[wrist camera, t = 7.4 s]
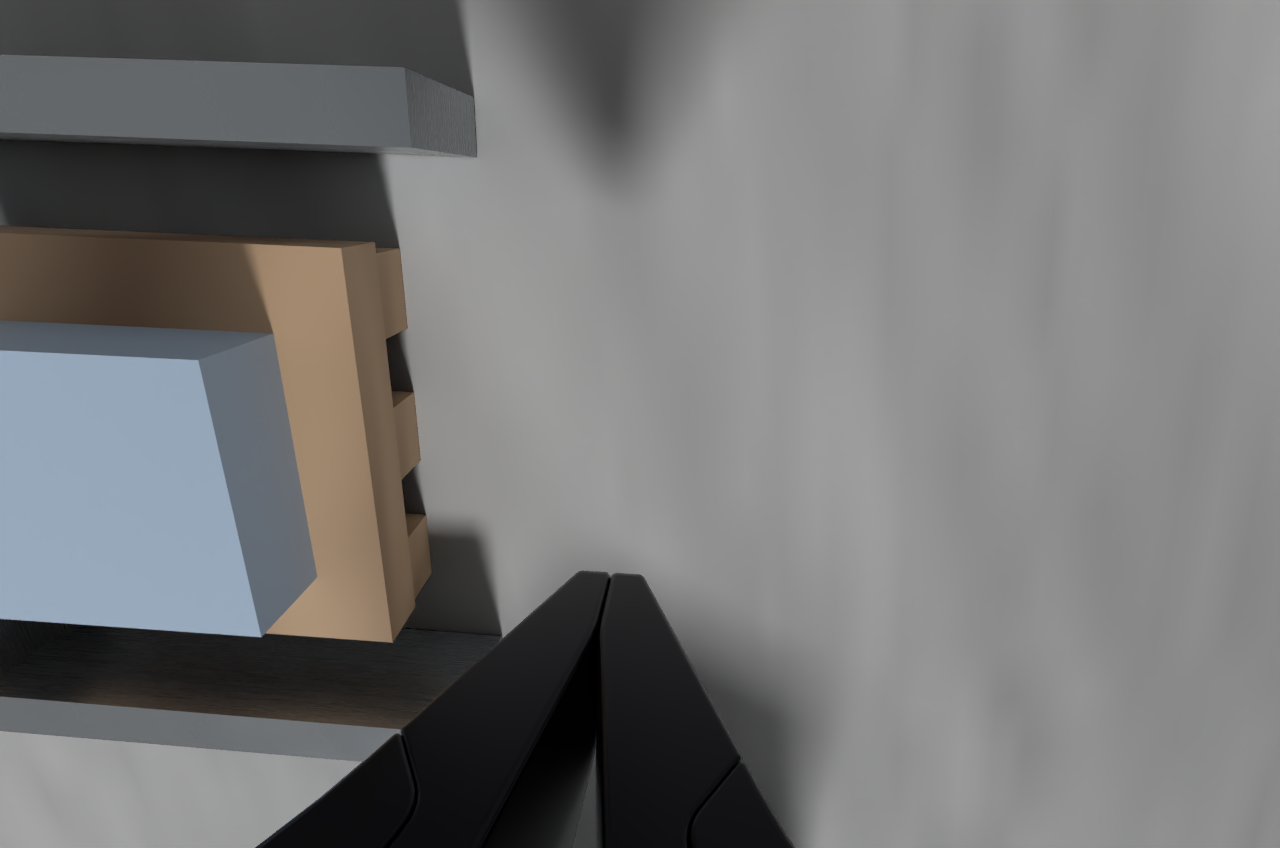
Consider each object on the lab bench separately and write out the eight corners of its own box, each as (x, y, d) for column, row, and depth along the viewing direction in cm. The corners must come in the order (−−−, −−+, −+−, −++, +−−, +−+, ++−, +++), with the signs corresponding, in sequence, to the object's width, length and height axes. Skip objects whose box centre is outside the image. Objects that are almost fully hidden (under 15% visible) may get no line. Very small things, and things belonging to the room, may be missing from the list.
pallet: (402, 237, 12) (341, 247, 10) (435, 576, 15) (392, 642, 13) (21, 220, 13) (-120, 227, 11) (122, 554, 16) (29, 615, 13)
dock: (473, 97, 11) (404, 66, 8) (503, 667, 16) (465, 770, 13) (-125, 76, 12) (-376, 43, 9) (73, 634, 16) (-52, 726, 14)
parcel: (273, 333, 11) (198, 360, 9) (317, 576, 13) (261, 636, 11) (0, 320, 11) (-124, 344, 9) (80, 561, 13) (-10, 618, 11)
